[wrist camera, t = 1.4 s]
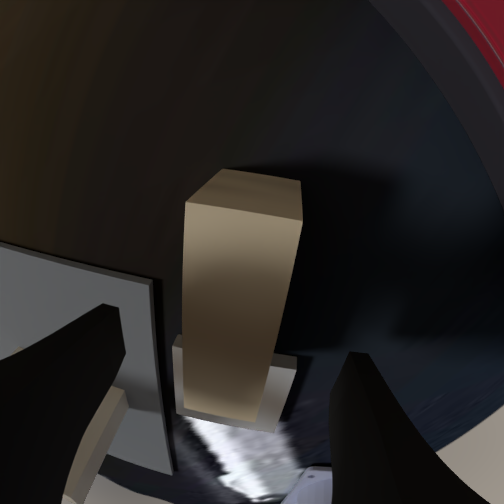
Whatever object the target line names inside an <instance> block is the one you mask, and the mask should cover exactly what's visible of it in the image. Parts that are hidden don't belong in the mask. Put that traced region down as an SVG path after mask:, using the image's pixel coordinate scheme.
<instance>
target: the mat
mask: <svg viewBox="0 0 504 504" xmlns="http://www.w3.org/2000/svg"><path fill="white" fill-rule="evenodd" d="M102 303H104V304H108V305H112V306H115V307H119V311H120V318H121V325H122V331H123V338H124V344H125V349H126V355H125V357H124V359H123V362H122V364H121V367H120V369H119V371H118V374H117V376H116V378H115V380H114V382H113V384H112V385H111V386H114V387H117V388H120V389H123V390H125V394H126V398H127V401H128V405H129V408H128V410H127V412H126V414H125V416H124V418H123V420H122V422H121V424H120V426H119V428H118V430H117V432H116V434H115V436H114V438H113V441H112V443H111V445H110V447H109V449H108V451H107V454H110V455H112V456H115V457H117V458H120V459H123V460H125V461H128V462H131V463H134V464H137V465H140V466H143V467H146V468H149V469H152V470H155V471H159V472H162V473H166V474H169V475H173V472H174V471H173V465H172V460H171V454H170V448H169V442H168V436H167V429H166V423H165V416H164V408H163V400H162V392H161V384H160V375H159V365H158V354H157V343H156V330H155V314H154V296H153V280H151V279H147V278H142V277H137V276H133V275H129V274H124V273H120V272H115V271H111V270H107V269H103V268H98V267H94V266H90V265H86V264H82V263H78V262H74V261H70V260H66V259H62V258H58V257H54V256H50V255H46V254H43V253H39V252H35V251H31V250H28V249H24V248H20V247H17V246H13V245H10V244H6V243H2V242H0V360H2V359H4V358H6V357H8V356H10V355H11V354H12V353H13V352H14V351H15V350H16V349H17V347H18V346H19V347H21V348H23V349H25V348H27V347H29V346H31V345H32V344H34V343H36V342H38V341H40V340H41V339H43V338H45V337H47V336H49V335H50V334H52V333H54V332H55V331H57V330H59V329H60V328H62V327H64V326H65V325H67V324H69V323H70V322H72V321H74V320H75V319H77V318H78V317H80V316H82V315H83V314H85V313H87V312H88V311H90V310H92V309H93V308H95V307H97V306H99V305H101V304H102Z"/></svg>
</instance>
